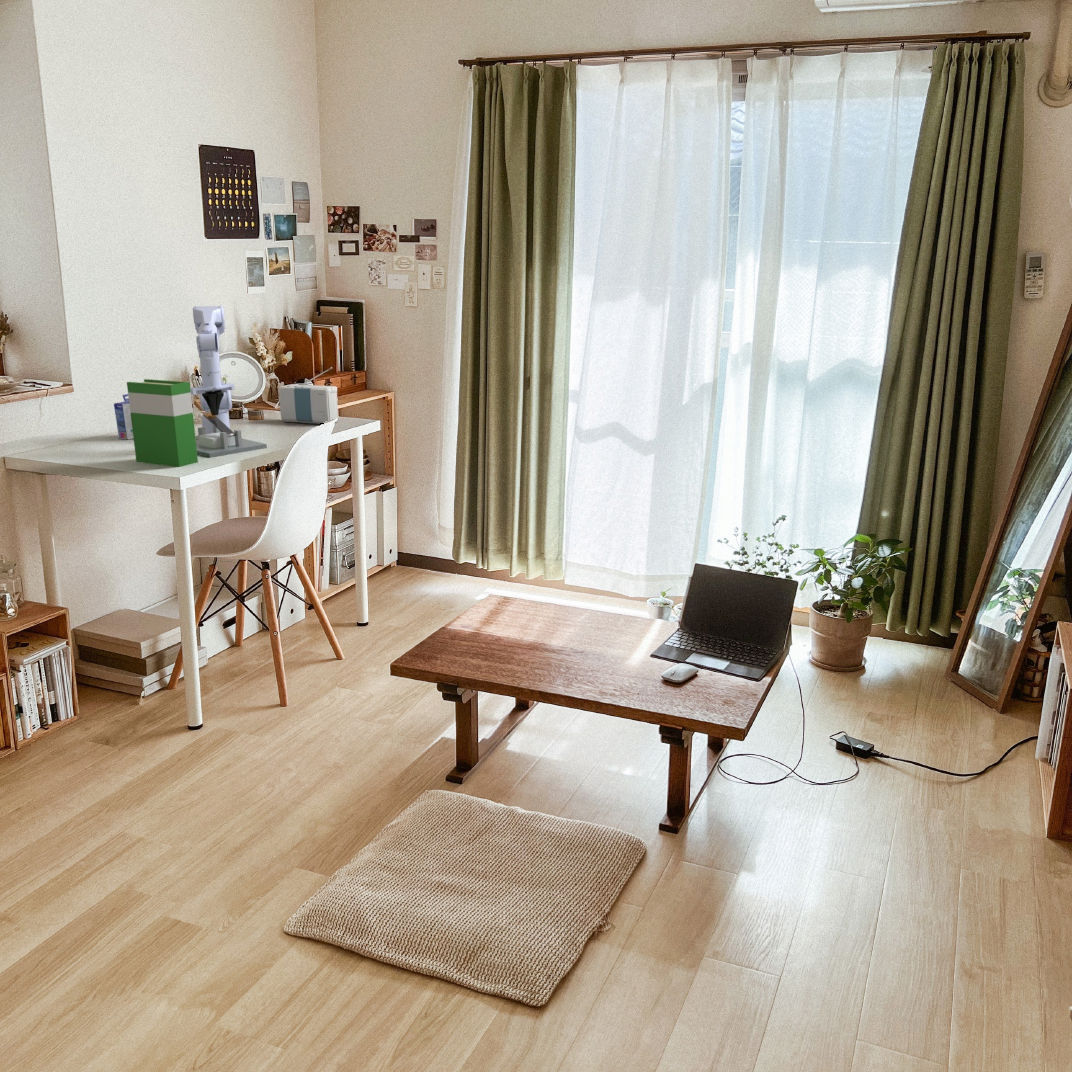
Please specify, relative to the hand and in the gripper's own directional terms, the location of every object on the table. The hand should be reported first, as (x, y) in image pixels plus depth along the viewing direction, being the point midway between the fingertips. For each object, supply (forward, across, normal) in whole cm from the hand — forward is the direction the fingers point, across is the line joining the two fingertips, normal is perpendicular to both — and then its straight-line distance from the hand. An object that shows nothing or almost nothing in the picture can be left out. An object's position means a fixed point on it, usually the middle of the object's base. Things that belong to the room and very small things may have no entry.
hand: (214, 414), depth 329 cm
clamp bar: (+3, 0, -2) cm, 4 cm away
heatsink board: (+10, 0, -2) cm, 11 cm away
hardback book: (+11, -22, -9) cm, 26 cm away
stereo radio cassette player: (+11, +47, +16) cm, 51 cm away
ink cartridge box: (+11, -9, +38) cm, 41 cm away
